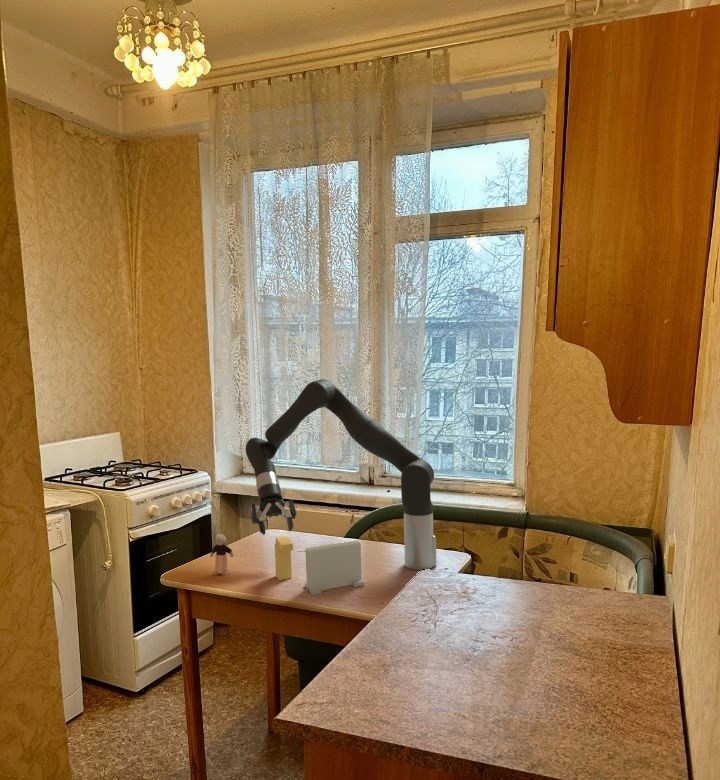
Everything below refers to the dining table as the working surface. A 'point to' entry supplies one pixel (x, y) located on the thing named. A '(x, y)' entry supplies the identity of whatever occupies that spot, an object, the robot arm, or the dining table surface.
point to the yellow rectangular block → (283, 557)
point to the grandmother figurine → (221, 555)
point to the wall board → (333, 566)
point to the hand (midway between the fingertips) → (277, 531)
